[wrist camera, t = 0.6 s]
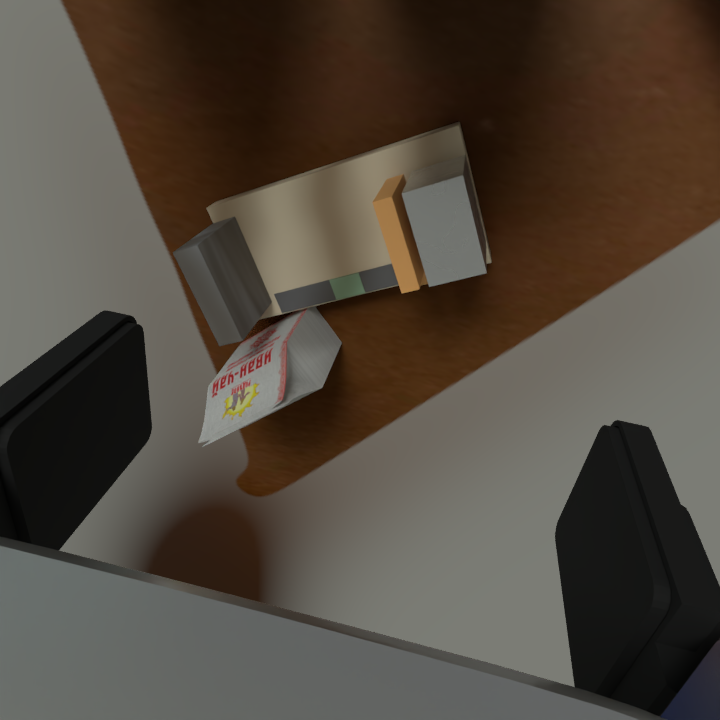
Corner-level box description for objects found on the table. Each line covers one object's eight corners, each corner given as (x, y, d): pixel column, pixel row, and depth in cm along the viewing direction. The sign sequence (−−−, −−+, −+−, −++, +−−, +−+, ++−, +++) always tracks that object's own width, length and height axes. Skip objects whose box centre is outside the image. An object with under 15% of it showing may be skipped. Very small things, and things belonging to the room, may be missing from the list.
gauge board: (459, 121, 31) (454, 143, 25) (491, 253, 35) (493, 300, 29) (215, 201, 36) (164, 235, 30) (264, 310, 40) (226, 360, 34)
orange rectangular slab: (403, 173, 31) (391, 196, 27) (433, 279, 34) (427, 314, 30) (386, 179, 32) (372, 202, 28) (418, 283, 35) (409, 318, 30)
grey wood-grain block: (465, 154, 30) (462, 175, 26) (485, 241, 33) (486, 273, 28) (412, 171, 31) (401, 193, 27) (435, 254, 33) (429, 287, 29)
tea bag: (342, 342, 40) (304, 427, 32) (271, 380, 43) (220, 467, 34) (311, 301, 39) (264, 377, 30) (241, 343, 42) (179, 423, 33)
